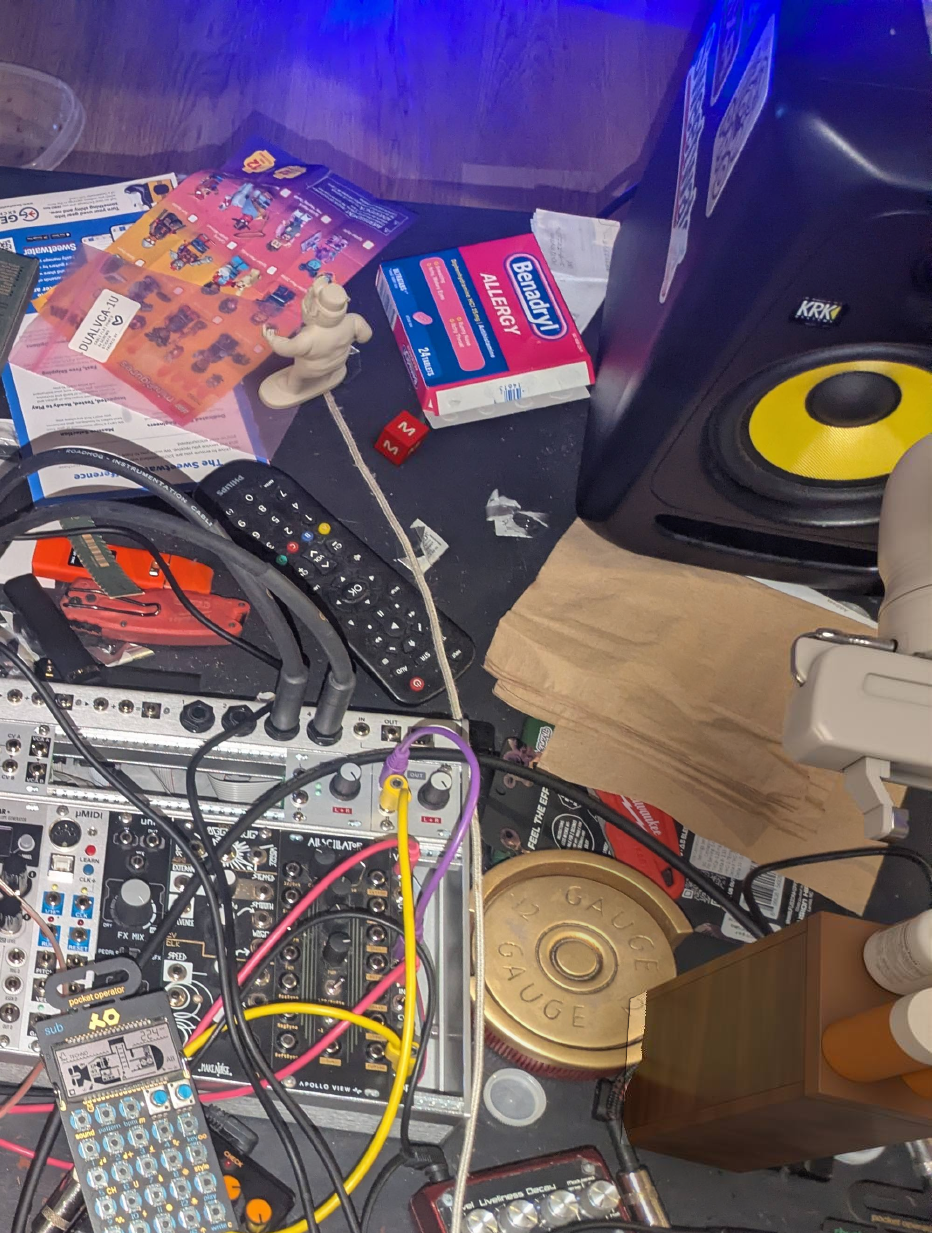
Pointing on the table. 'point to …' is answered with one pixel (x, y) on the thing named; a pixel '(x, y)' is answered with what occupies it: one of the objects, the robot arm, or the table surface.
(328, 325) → the figurine
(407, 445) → the dice
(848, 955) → the shelf
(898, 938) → the pill bottle
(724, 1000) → the wooden crate
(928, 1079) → the amber bottle
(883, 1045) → the amber bottle
